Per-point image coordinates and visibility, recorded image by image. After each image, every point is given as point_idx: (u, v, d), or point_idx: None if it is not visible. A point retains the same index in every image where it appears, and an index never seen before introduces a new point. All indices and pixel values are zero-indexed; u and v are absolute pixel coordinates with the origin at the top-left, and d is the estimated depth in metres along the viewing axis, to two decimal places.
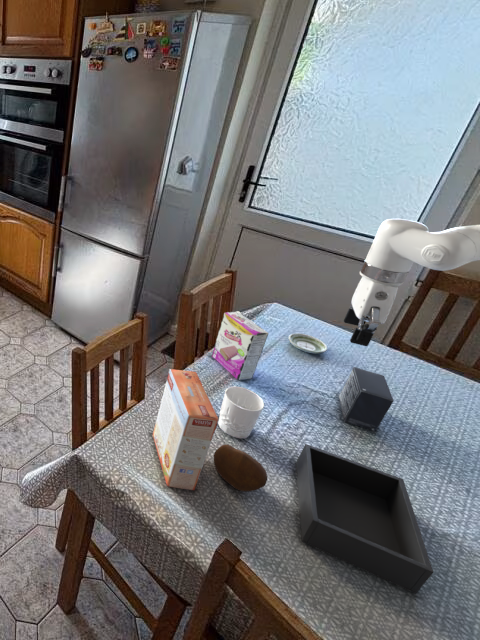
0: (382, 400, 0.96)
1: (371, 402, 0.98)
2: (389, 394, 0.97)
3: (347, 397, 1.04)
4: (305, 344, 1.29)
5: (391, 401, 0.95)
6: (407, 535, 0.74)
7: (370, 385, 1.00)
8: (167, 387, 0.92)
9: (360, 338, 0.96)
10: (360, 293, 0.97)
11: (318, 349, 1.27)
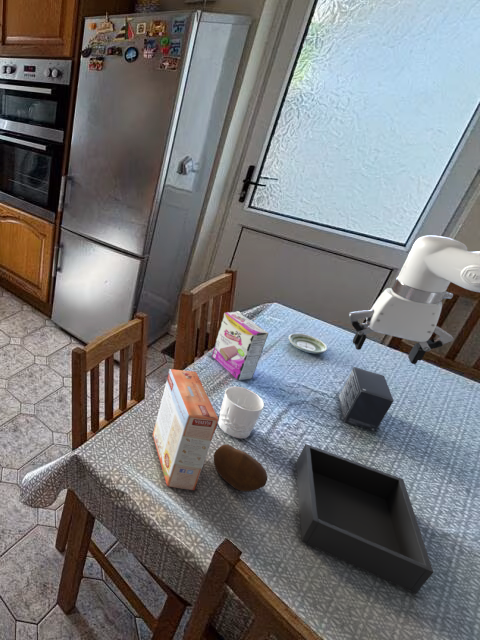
0: (382, 400, 0.96)
1: (371, 402, 0.98)
2: (389, 394, 0.97)
3: (347, 397, 1.04)
4: (305, 344, 1.29)
5: (391, 401, 0.95)
6: (407, 535, 0.74)
7: (370, 385, 1.00)
8: (167, 387, 0.92)
9: None
10: (414, 320, 0.90)
11: (318, 349, 1.27)
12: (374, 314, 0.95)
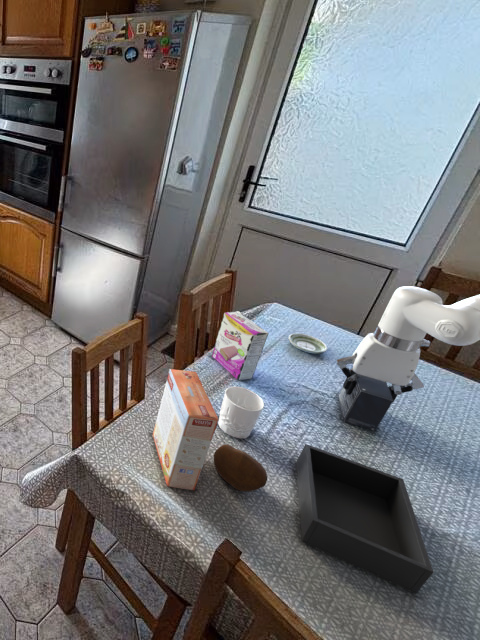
0: (381, 400, 0.96)
1: (371, 402, 0.98)
2: (388, 394, 0.97)
3: (347, 397, 1.04)
4: (305, 344, 1.29)
5: (391, 401, 0.95)
6: (407, 535, 0.74)
7: (369, 385, 1.00)
8: (167, 387, 0.92)
9: None
10: (395, 365, 0.95)
11: (318, 349, 1.27)
12: (357, 358, 0.99)
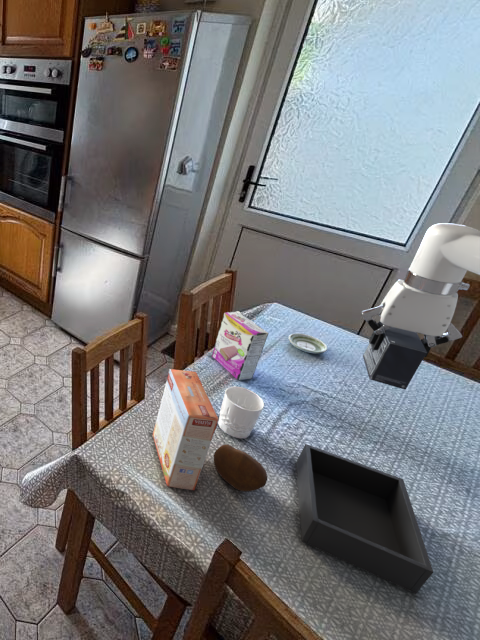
0: (413, 352, 0.87)
1: (401, 355, 0.88)
2: (421, 346, 0.87)
3: (373, 353, 0.95)
4: (305, 344, 1.29)
5: (424, 353, 0.86)
6: (407, 535, 0.74)
7: (399, 337, 0.90)
8: (167, 387, 0.92)
9: None
10: (428, 313, 0.85)
11: (318, 349, 1.27)
12: (385, 307, 0.90)
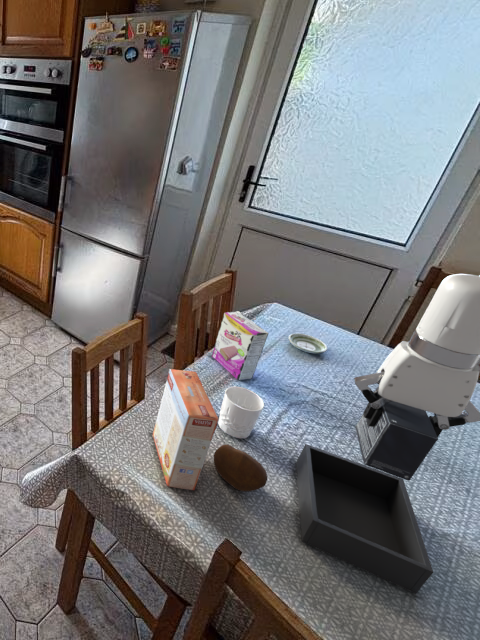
0: (420, 437, 0.67)
1: (405, 439, 0.69)
2: (431, 429, 0.68)
3: (369, 429, 0.75)
4: (305, 344, 1.29)
5: (434, 439, 0.66)
6: (407, 535, 0.74)
7: (402, 414, 0.70)
8: (167, 387, 0.92)
9: None
10: (441, 388, 0.66)
11: (318, 349, 1.27)
12: (385, 376, 0.70)
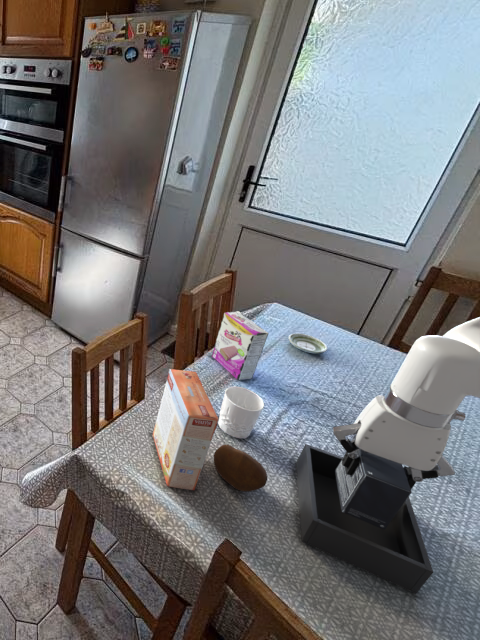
0: (395, 490, 0.69)
1: (380, 491, 0.71)
2: (405, 482, 0.70)
3: (347, 477, 0.77)
4: (305, 344, 1.29)
5: (408, 492, 0.69)
6: (407, 535, 0.74)
7: (378, 465, 0.73)
8: (167, 387, 0.92)
9: None
10: (414, 444, 0.68)
11: (318, 349, 1.27)
12: (361, 429, 0.72)
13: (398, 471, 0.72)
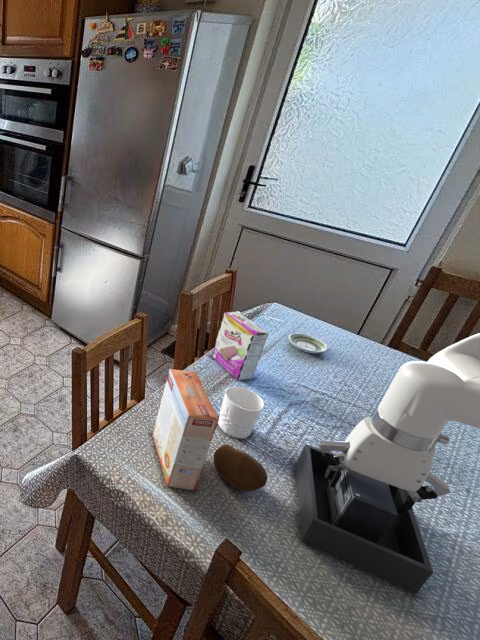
0: (381, 511, 0.72)
1: (367, 512, 0.73)
2: (391, 503, 0.72)
3: (336, 497, 0.80)
4: (305, 344, 1.29)
5: (394, 514, 0.71)
6: (407, 535, 0.74)
7: (365, 487, 0.75)
8: (167, 387, 0.92)
9: None
10: (400, 466, 0.70)
11: (318, 349, 1.27)
12: (350, 449, 0.75)
13: (385, 493, 0.74)
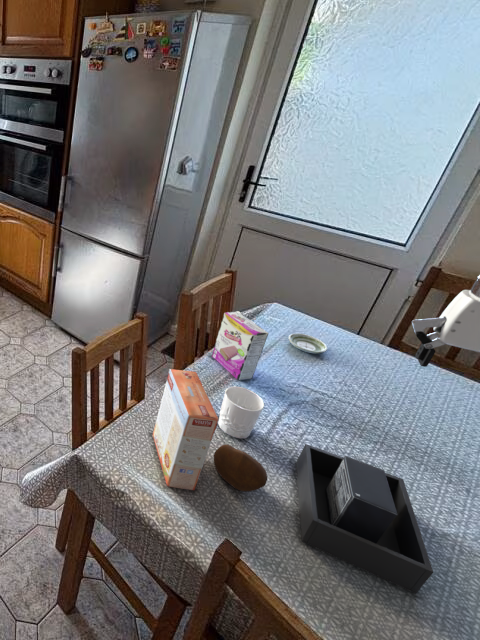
0: (381, 511, 0.72)
1: (367, 512, 0.73)
2: (391, 504, 0.72)
3: (336, 497, 0.80)
4: (305, 344, 1.29)
5: (394, 514, 0.71)
6: (407, 535, 0.74)
7: (366, 487, 0.75)
8: (167, 387, 0.92)
9: None
10: None
11: (318, 349, 1.27)
12: (447, 323, 0.75)
13: (385, 493, 0.74)
